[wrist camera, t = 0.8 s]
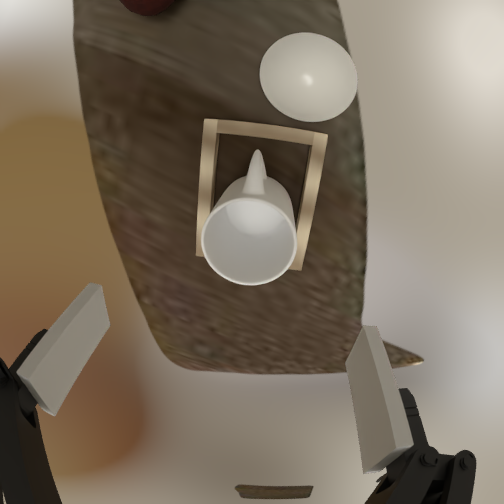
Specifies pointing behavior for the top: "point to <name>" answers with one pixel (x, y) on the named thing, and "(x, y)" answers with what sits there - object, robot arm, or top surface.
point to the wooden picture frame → (272, 132)
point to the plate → (308, 77)
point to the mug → (251, 229)
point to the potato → (147, 6)
